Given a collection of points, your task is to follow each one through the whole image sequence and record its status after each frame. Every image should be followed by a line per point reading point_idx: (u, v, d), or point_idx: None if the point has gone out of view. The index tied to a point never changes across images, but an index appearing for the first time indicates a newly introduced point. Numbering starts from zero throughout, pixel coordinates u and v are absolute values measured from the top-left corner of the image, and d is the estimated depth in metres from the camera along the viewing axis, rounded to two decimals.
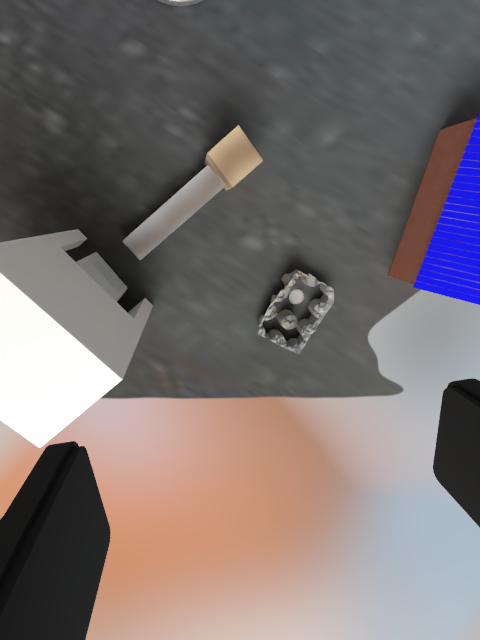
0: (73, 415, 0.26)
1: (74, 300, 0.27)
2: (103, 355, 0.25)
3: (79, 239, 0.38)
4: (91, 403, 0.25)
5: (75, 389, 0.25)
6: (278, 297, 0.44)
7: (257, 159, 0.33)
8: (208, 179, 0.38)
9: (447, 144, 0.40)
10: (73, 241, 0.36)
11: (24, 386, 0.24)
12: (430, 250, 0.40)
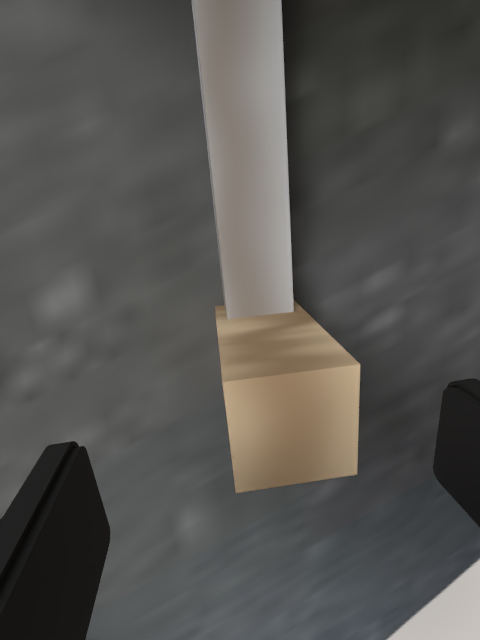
0: None
1: None
2: None
3: None
4: None
5: None
6: None
7: (248, 481, 0.10)
8: (265, 294, 0.14)
9: None
10: None
11: None
12: None
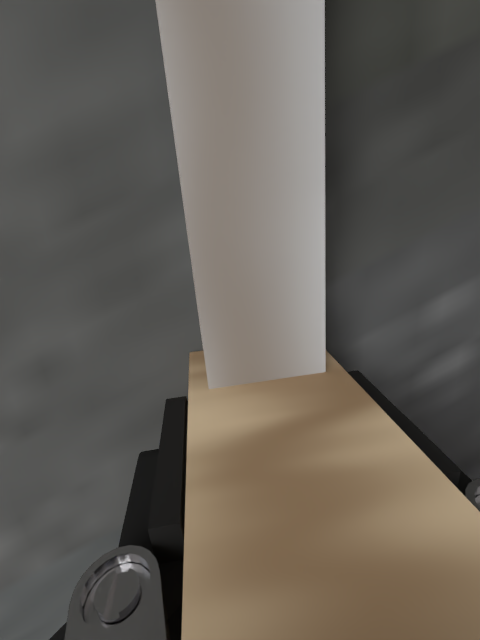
0: None
1: None
2: None
3: None
4: None
5: None
6: None
7: None
8: (276, 344, 0.08)
9: None
10: None
11: None
12: None
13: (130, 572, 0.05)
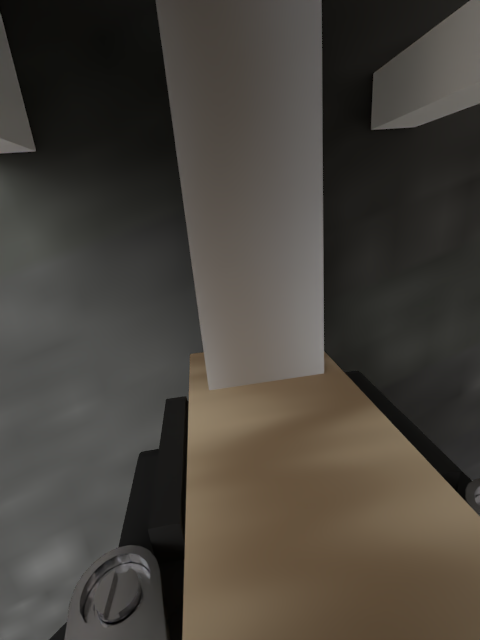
0: None
1: None
2: None
3: (433, 104, 0.08)
4: None
5: None
6: None
7: None
8: (276, 346, 0.08)
9: None
10: None
11: None
12: None
13: (130, 573, 0.05)
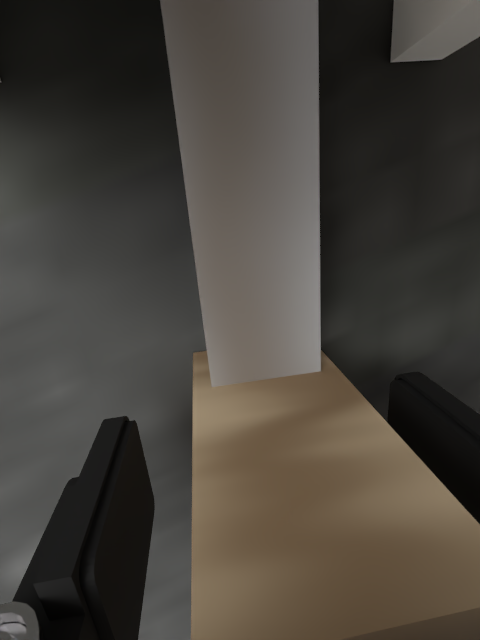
0: None
1: None
2: None
3: (473, 5, 0.06)
4: None
5: None
6: None
7: None
8: (274, 345, 0.09)
9: None
10: None
11: None
12: None
13: (2, 636, 0.04)
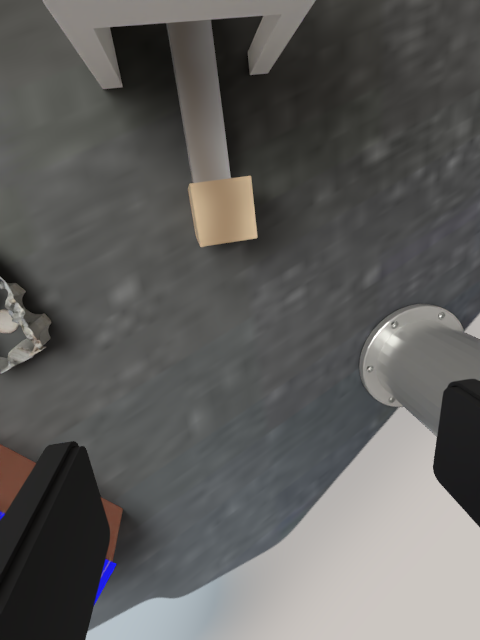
0: None
1: None
2: None
3: (258, 61, 0.24)
4: None
5: None
6: (13, 302, 0.26)
7: (205, 240, 0.22)
8: (214, 171, 0.26)
9: None
10: (265, 48, 0.22)
11: None
12: None
13: None
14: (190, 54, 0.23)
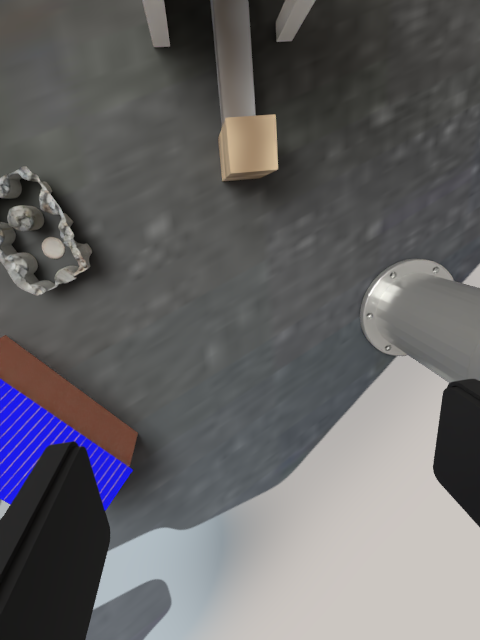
0: None
1: None
2: None
3: (285, 27, 0.29)
4: None
5: None
6: (65, 226, 0.31)
7: (235, 167, 0.27)
8: None
9: (120, 436, 0.39)
10: (291, 13, 0.27)
11: None
12: (9, 390, 0.32)
13: None
14: (229, 18, 0.28)
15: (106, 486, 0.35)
